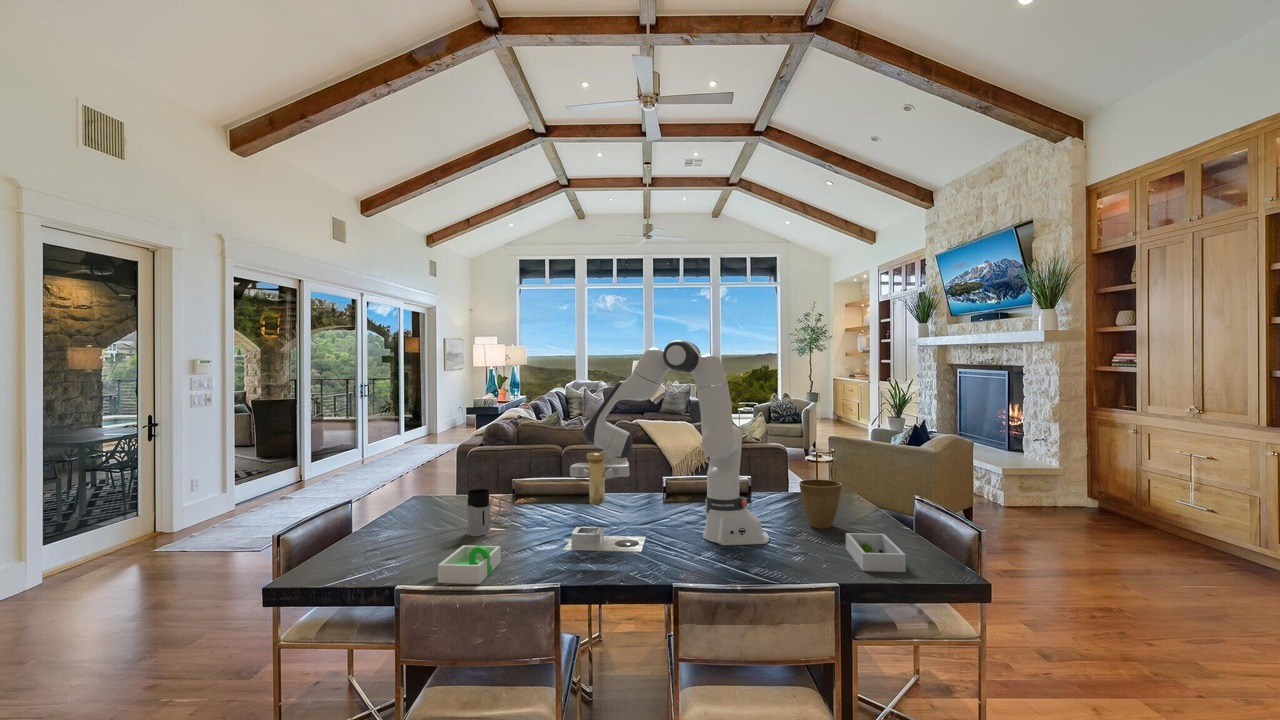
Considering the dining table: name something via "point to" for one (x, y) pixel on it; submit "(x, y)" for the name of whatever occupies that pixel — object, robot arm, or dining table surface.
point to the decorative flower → (868, 546)
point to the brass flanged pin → (596, 477)
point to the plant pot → (820, 501)
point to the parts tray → (467, 566)
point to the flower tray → (882, 562)
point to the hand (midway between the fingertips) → (596, 474)
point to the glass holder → (479, 512)
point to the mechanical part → (475, 561)
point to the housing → (602, 541)
